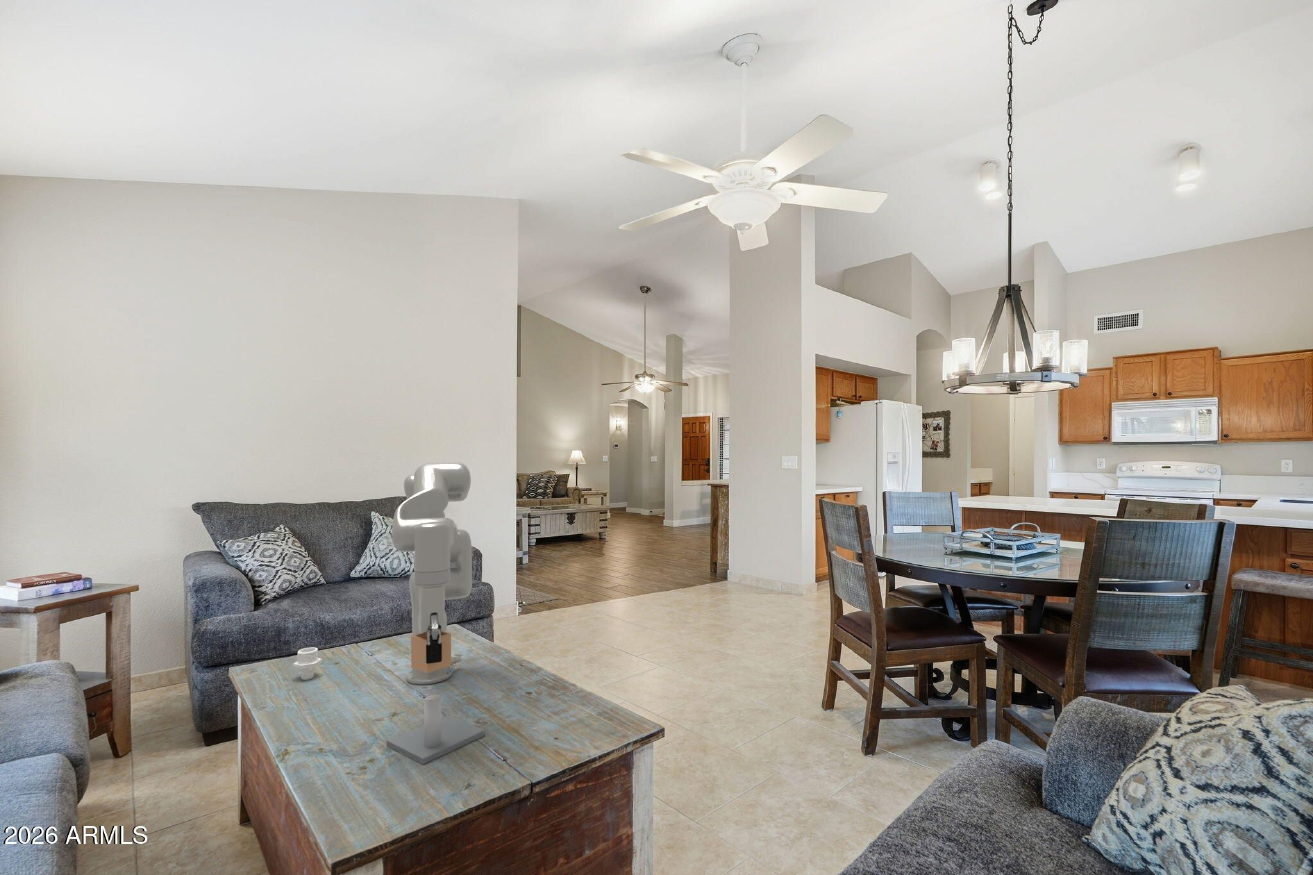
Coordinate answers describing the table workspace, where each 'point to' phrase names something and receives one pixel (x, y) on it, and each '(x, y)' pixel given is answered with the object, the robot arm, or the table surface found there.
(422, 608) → the robot arm
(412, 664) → the hollow square tube
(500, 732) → the table surface
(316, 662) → the pipe fitting
